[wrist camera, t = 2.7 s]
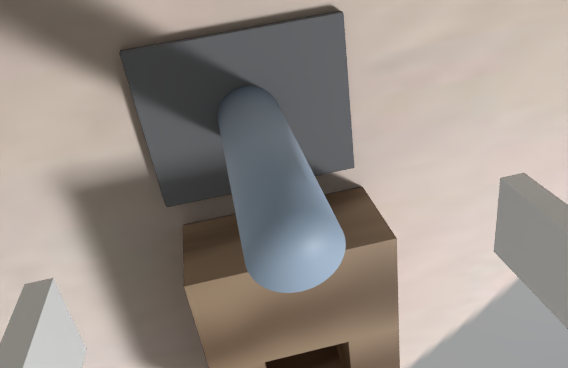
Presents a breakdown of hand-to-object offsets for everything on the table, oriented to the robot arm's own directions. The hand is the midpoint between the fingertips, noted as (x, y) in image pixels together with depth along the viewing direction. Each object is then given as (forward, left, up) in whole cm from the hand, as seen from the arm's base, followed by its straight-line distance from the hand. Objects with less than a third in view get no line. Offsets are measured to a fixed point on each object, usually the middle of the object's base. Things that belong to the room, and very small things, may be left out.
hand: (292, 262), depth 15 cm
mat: (0, 0, -11) cm, 11 cm away
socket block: (+8, +9, -11) cm, 16 cm away
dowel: (0, 0, -11) cm, 11 cm away
